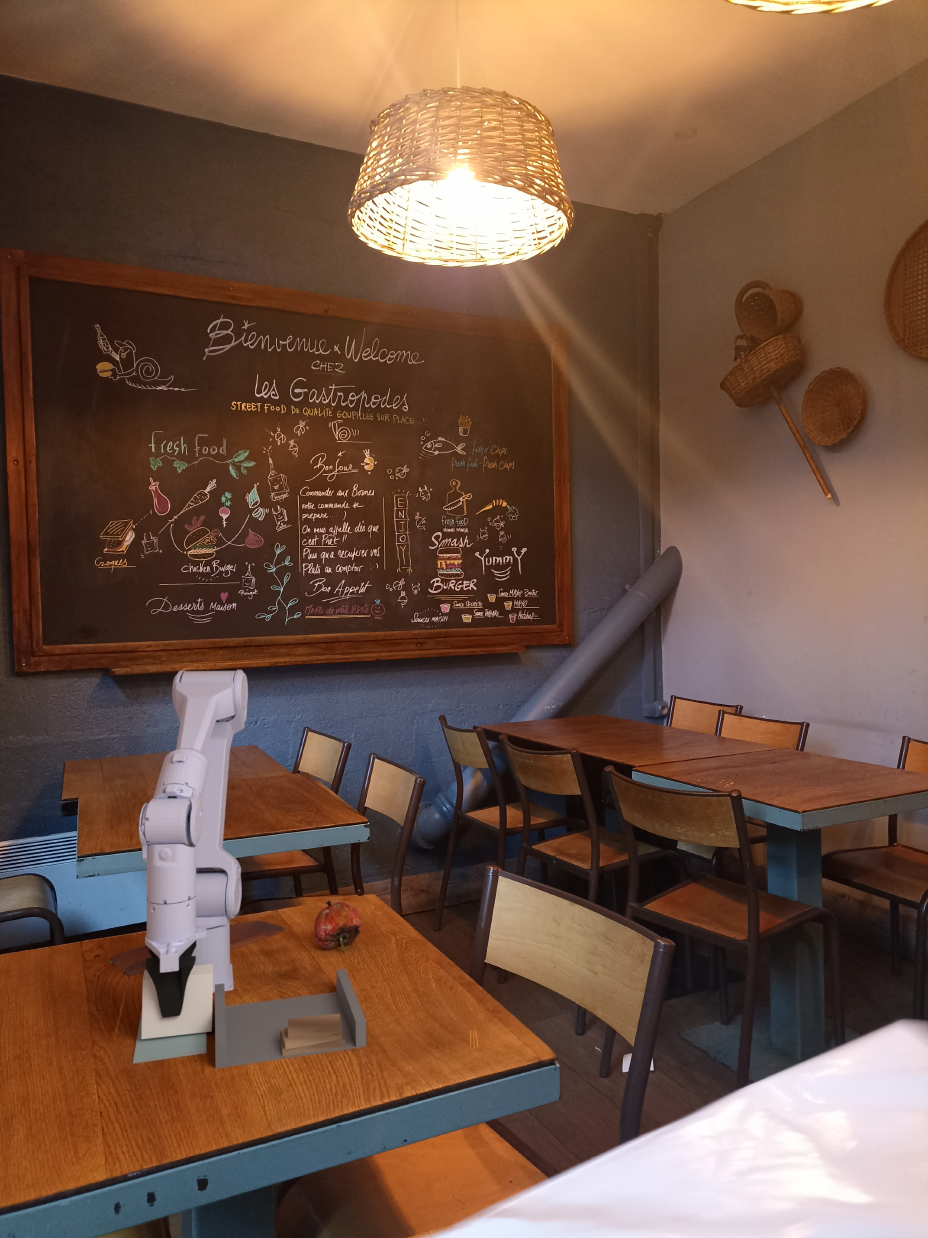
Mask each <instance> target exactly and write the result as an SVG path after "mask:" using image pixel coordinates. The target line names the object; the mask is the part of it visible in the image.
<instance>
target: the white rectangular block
mask: <svg viewBox="0 0 928 1238" xmlns="http://www.w3.org/2000/svg"><path fill="white" fill-rule="evenodd" d="M142 978H143V979H142V1000H141V1002H142V1006H141V1007H142V1009H141V1016H142V1037H141V1039H148V1038H157V1037H166V1036H175V1035H184V1034H193V1033H202V1032H207V1033H210V1032H211V1033H212V1031H213V994H214V993H213V964H209V965H198V966H194V967H193V969H192V971H191V973H190V975H189V978H188V981H187V984H186V989H185V995H184V1002H183V1007H182V1011H181V1015H180V1016H174V1017H167V1018H162V1015H161V1012H160V1007H159V1002H158V997H157V992H156V989H155V986H154V983H153V981H152V979H151V977H150V975H149V974H148V972H147V970H145V971H144V974H143V977H142Z"/></svg>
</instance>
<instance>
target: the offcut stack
mask: <svg viewBox="0 0 928 1238" xmlns="http://www.w3.org/2000/svg"><path fill="white" fill-rule="evenodd" d="M280 1044H281V1050H282V1056H288V1055H294V1054H301V1053H308V1052H315V1051H322V1050H329V1049H335V1048H342V1047H345V1038H344V1035H343V1032H342V1024H341V1017H340V1014H332V1015H321V1016H311V1017H300V1018H290V1019H288V1028H284V1029H280Z"/></svg>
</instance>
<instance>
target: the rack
mask: <svg viewBox="0 0 928 1238" xmlns="http://www.w3.org/2000/svg"><path fill="white" fill-rule="evenodd" d="M335 972H336V977H335V978H336V991H334V992H328V993H318V994H311V995H303V996H296V997H295V996H294V997H289V998H281V999H271V1000H265V1001H264V1000H263V1001H257V1002H250V1003H242V1004H233V1005H226V994H225V993H226V991H225V989H224V983H223V984H215V992H214V1044H215V1045H214V1047H215V1048H214V1049H215V1051H214V1052H215V1055H214V1057H215V1069H223V1068H230V1067H237V1066H242V1065H250V1064H256V1063H262V1062H263V1063H264V1062H270V1061H277V1060H284V1059H290V1058H298V1057H303V1056H304V1057H305V1056H310V1055H318V1054H325V1053H330V1052H331V1053H332V1052H337V1051H344V1050H351V1049H359V1048H364V1047H367V1019H366V1017H365V1014H364V1013H363V1009H362V1006H361V1005H360V1002H359V999H358V997H357V995H356V992H355V990H354V987H353V985H352V982H351V980H350V977H349V974H348V972H347V969H346V968H339V969H336V970H335ZM332 1014H340V1017H341V1024H342V1032H343V1035H344V1038H345V1047H342V1048H335V1049H329V1050H322V1051H315V1052H308V1053H301V1054H294V1055H288V1056H282V1050H281V1044H280V1029H284V1028H288V1019H290V1018H300V1017H311V1016H321V1015H332Z"/></svg>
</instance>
